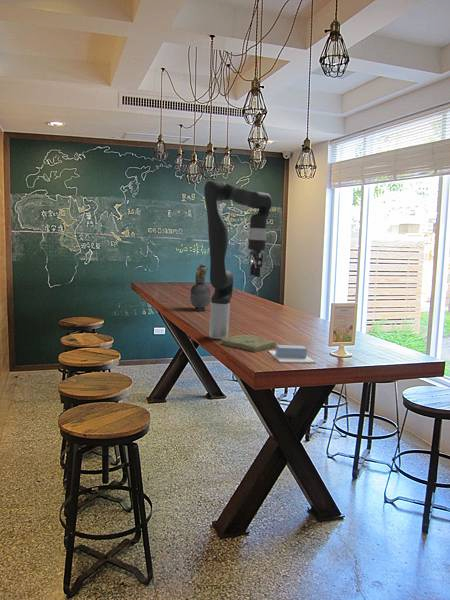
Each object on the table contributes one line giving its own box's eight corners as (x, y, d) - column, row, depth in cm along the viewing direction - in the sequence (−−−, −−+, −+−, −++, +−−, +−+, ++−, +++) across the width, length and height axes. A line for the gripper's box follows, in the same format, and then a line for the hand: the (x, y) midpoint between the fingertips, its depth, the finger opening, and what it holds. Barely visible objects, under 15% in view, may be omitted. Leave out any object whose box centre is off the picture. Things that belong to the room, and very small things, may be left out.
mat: (268, 351, 234) (268, 350, 234) (300, 352, 237) (300, 351, 237) (280, 362, 216) (280, 361, 216) (315, 363, 218) (315, 361, 218)
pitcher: (195, 311, 334) (197, 264, 330) (186, 307, 352) (189, 262, 348) (211, 311, 338) (214, 265, 334) (202, 307, 355) (204, 262, 351)
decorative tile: (255, 353, 232) (255, 345, 231) (220, 345, 244) (220, 337, 244) (278, 347, 246) (279, 340, 246) (244, 340, 259) (245, 333, 258)
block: (302, 354, 230) (303, 345, 229) (306, 357, 224) (306, 348, 224) (275, 353, 228) (276, 344, 228) (278, 357, 223) (279, 347, 222)
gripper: (269, 239, 223) (267, 278, 226) (261, 238, 237) (259, 274, 239) (252, 238, 222) (250, 277, 224) (245, 238, 236) (243, 274, 238)
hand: (254, 276), depth 232 cm, fingers open, 8 cm apart
